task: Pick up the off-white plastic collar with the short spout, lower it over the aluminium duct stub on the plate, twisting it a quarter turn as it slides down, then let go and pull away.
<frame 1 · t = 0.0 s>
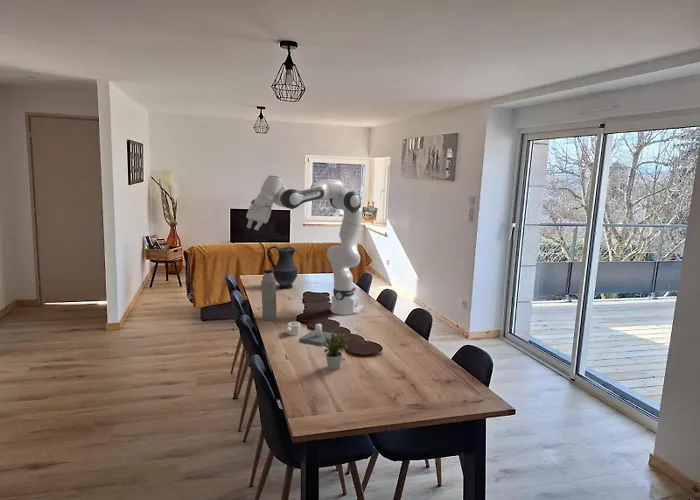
hand: (252, 228, 248), 54 cm above the table, tool tilted 30°, fingers open, 8 cm apart
duct plate: (318, 339, 244), on the table
thermos bottle: (269, 318, 277), on the table
collar: (294, 332, 253), on the table
house plant: (333, 369, 209), on the table
pitcher: (283, 287, 345), on the table
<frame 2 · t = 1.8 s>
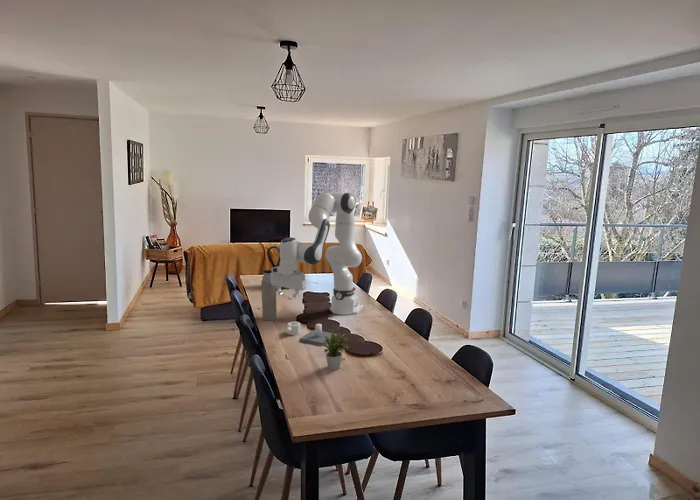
hand: (287, 296, 249), 20 cm above the table, tool pointing down, fingers open, 8 cm apart
nothing on the table moved.
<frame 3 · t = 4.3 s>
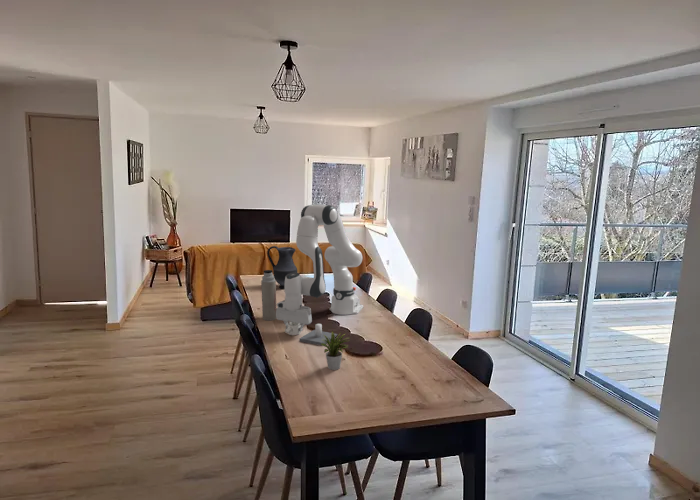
hand: (294, 329, 253), 2 cm above the table, tool pointing down, fingers closed on collar, 6 cm apart
collar: (294, 332, 253), on the table, touching gripper
everything else where it was.
when the fingers open (5 cm above the table, at t = 10.1 s): collar drops 1 cm, resting on duct plate.
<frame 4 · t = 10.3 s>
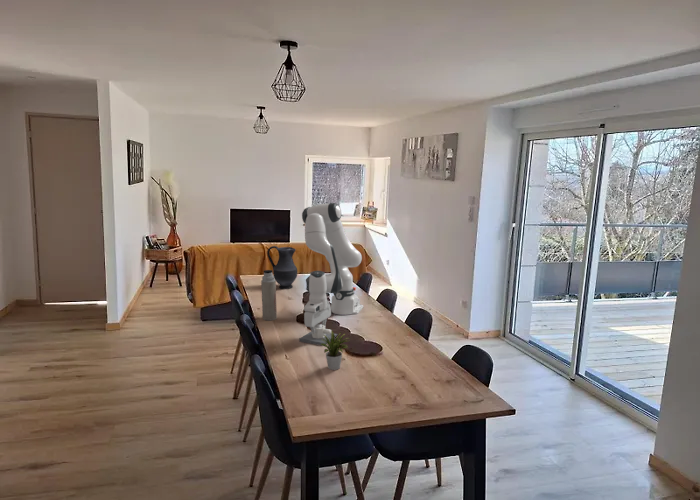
hand: (318, 330, 244), 5 cm above the table, tool pointing down, fingers open, 8 cm apart
collar: (318, 336, 244), point 1 cm above the table, touching duct plate
everything else where it was.
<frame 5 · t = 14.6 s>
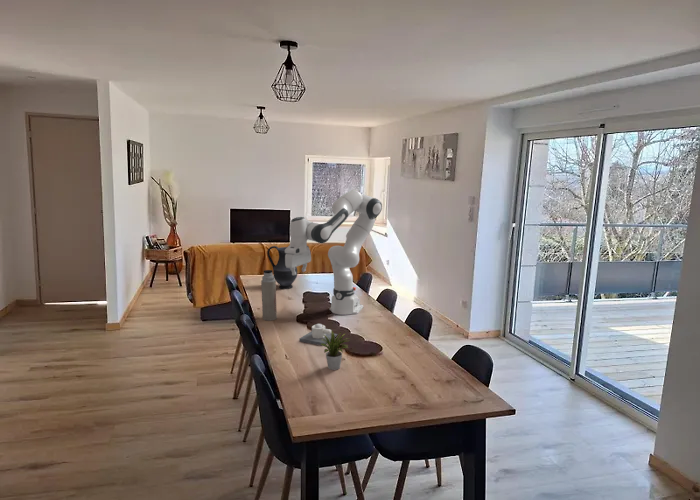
hand: (299, 273, 260), 29 cm above the table, tool pointing down, fingers open, 8 cm apart
nothing on the table moved.
at the end: collar 0.1 cm off-centre on the duct plate, point 1.5 cm above the duct plate's base; collar tilted 0°; the gripper is holding nothing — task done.
